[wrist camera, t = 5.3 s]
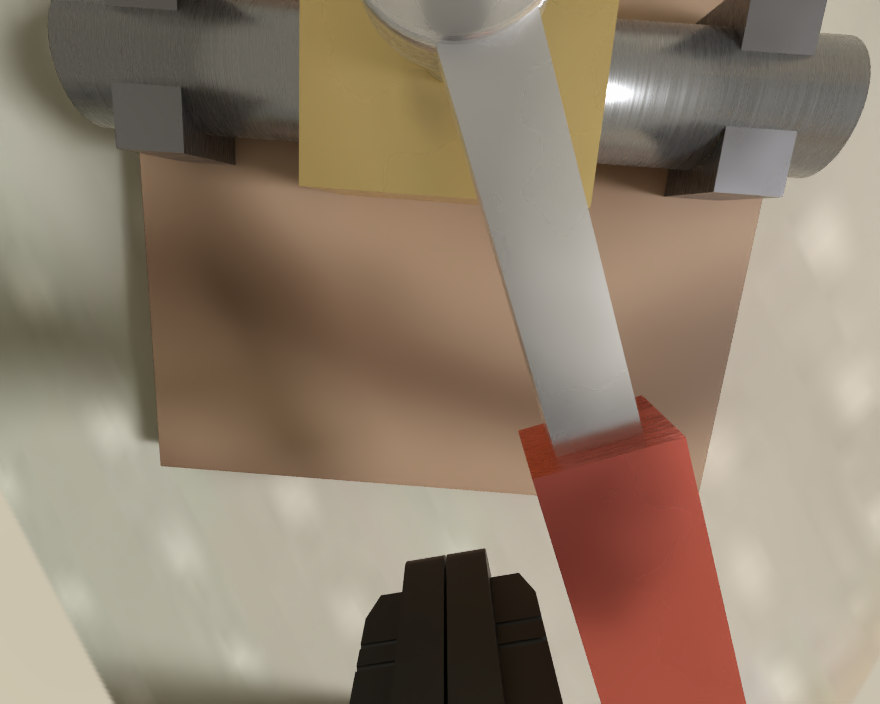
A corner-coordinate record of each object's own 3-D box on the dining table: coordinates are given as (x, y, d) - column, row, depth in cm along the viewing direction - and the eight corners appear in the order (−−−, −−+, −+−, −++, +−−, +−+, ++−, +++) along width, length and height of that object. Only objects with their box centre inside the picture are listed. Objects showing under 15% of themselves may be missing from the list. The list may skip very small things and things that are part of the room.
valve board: (133, -436, 13) (93, -517, 12) (856, -390, 13) (907, -467, 12) (183, 447, 19) (160, 465, 18) (677, 485, 19) (695, 507, 18)
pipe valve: (147, -24, 15) (-257, -340, 6) (781, 21, 15) (1221, -244, 6) (159, 182, 16) (-161, 145, 8) (738, 224, 16) (1052, 234, 8)
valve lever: (325, -113, 7) (286, -214, 5) (525, -196, 6) (548, -327, 5) (603, 760, 10) (629, 861, 8) (740, 731, 10) (794, 829, 8)
